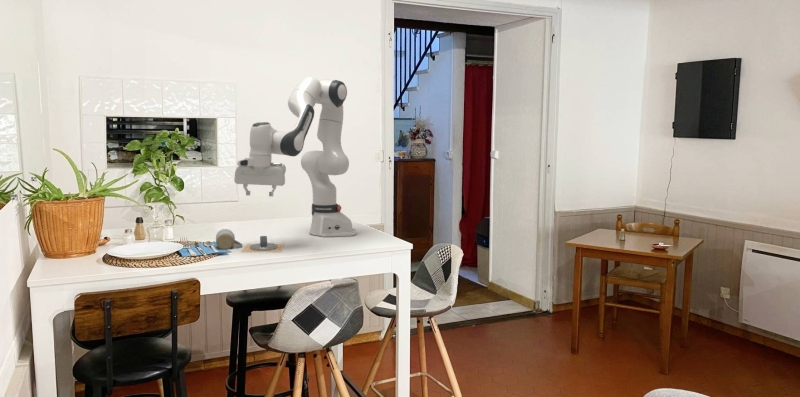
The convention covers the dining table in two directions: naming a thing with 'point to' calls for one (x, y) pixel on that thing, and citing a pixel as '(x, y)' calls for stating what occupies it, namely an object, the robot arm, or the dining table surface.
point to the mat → (278, 249)
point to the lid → (263, 245)
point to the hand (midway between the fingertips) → (259, 195)
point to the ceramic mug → (226, 240)
